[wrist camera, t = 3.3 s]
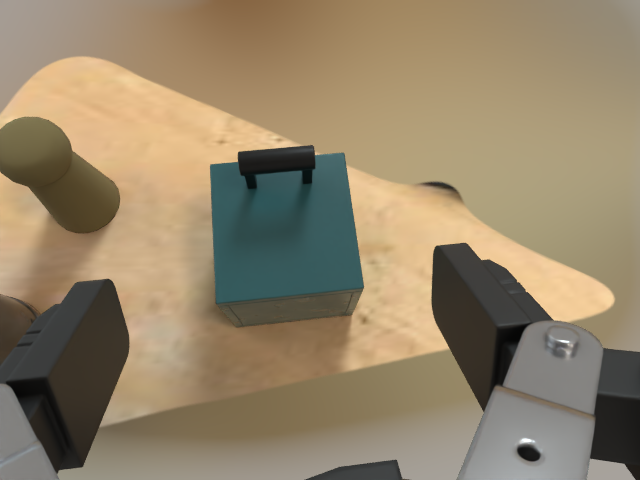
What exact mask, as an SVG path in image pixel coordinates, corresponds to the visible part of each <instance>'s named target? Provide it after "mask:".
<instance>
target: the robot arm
mask: <svg viewBox="0 0 640 480" xmlns="http://www.w3.org/2000/svg"><path fill="white" fill-rule="evenodd" d="M432 310H433V315H434V318H435V321H436V324H437V326H438V327H439V329H440V331H441V333H442V335H443V337H444V339H445V340H446V342H447V344H448V346H449V348H450V350H451V352H452V354H453V355H454V357H455V359H456V361H457V363H458V365H459V366H460V369H461V370H462V372H463V374H464V376H465V378H466V380H467V382H468V383H469V385H470V387H471V389H472V391H473V393H474V394H475V397H476V398H477V400H478V402H479V404H480V406H481V408H482V410H483V412H484V414H483V416H482V418H481V421H480V423H479V426H478V428H477V431H476V433H475V436H474V438H473V440H472V443H471V445H470V448H469V450H468V453H467V455H466V458H465V460H464V463H463V465H462V467H461V470H460V472H459V475H458V477H457V480H587V474H588V468H589V461H590V459H597V460H603V461H610V462H617V463H623V464H625V465H626V467H627V468H628V470H629V471H630V472H631V473H632V475H633V477H634V478H635V479H636V480H640V352H633V351H623V350H613V349H606V348H603V347H602V344H601V342H600V341H599V340H598V339H597V338H596V337H595V336H594V335H593V334H592V333H590V332H589V331H587V330H586V329H583V328H581V327H579V326H577V325H574V324H571V323H567V322H562V321H554V320H553V319H552V318H551V317H550V316H549V315H548V314H547V313H546V311H545V310H544V309H543V308H542V307H541V306H540V305H539V304H538V303H537V302H536V301H535V299H534V298H533V297H532V296H531V295H530V294H529V293H528V292H526V291H525V289H524V287H523V286H522V285H521V284H520V283H519V282H518V283H517V280H516V279H515V278H514V277H513V276H512V274H511V273H510V272H509V271H508V270H507V269H506V268H504V267H502V266H500V265H498V264H496V263H495V262H493V261H491V260H481V259H480V258H479V257H478V256H477V255H476V253H475V252H474V251H473V250H472V249H471V248H470V246H469V245H468V244H467V243H459V244H449V245H440V246H436V247H435V249H434V253H433V274H432ZM128 353H129V334H128V329H127V326H126V323H125V319H124V316H123V312H122V309H121V305H120V302H119V298H118V295H117V292H116V288H115V286H114V283H113V282H112V281H111V280H110V279H103V280H93V281H83V282H77V283H75V284H74V285H73V287H72V288H71V290H70V291H69V292H68V294H67V295H66V297H65V298H64V300H63V301H62V302H61V304H55V305H54V306H52V307H51V308H49V309H48V310H47V311H45V312H44V313H43V314H41V315H40V313H39V312H38V311H37V310H36V309H35V308H33V307H32V306H31V305H29V304H27V303H25V302H23V301H21V300H18V299H15V298H12V297H8V296H4V295H1V294H0V480H59V478H58V476H57V473H58V471H59V470H63V469H71V468H79V467H83V465H84V462H85V460H86V457H87V455H88V452H89V450H90V448H91V445H92V442H93V440H94V438H95V435H96V433H97V430H98V428H99V426H100V423H101V421H102V418H103V416H104V413H105V411H106V408H107V406H108V404H109V401H110V399H111V396H112V394H113V391H114V389H115V386H116V384H117V382H118V379H119V377H120V374H121V372H122V369H123V367H124V364H125V362H126V359H127V357H128ZM306 480H407V479H402V477H401V473H400V469H399V466H398V462H397V460H391V461H382V462H375V463H367V464H360V465H352V466H344V467H338V468H335V469H333V470H330V471H328V472H325V473H322V474H319V475H317V476H314V477H311V478H309V479H306Z"/></svg>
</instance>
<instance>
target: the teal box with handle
mask: <svg viewBox="0 0 640 480" xmlns="http://www.w3.org/2000/svg"><path fill="white" fill-rule="evenodd" d="M210 178H211V201H212V225H213V249H214V272H215V296H216V304H217V305H218V306H224V305H234V304H243V303H252V302H262V301H271V300H281V299H290V298H299V297H309V296H318V295H328V294H337V293H347V292H356V291H363V289H364V284H363V277H362V270H361V263H360V256H359V250H358V243H357V236H356V229H355V222H354V216H353V209H352V202H351V195H350V188H349V182H348V175H347V168H346V161H345V155H344V153H334V154H323V155H315V151H314V146H313V145H310V146H299V147H287V148H276V149H265V150H253V151H242V152H238V162H233V163H222V164H211V165H210Z"/></svg>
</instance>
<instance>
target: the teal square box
mask: <svg viewBox="0 0 640 480" xmlns="http://www.w3.org/2000/svg"><path fill="white" fill-rule="evenodd" d="M361 294H362V291H356V292H347V293H337V294H328V295H318V296H309V297H299V298H290V299H281V300H271V301H262V302H252V303H243V304H234V305H224V306H218V307H219V308H220V309H221V310H222V311H223V312H224V314H225V315H226V316H227V317H228V318H229V319H230V321H231V322H232V323H233V324H234V325H235V326H236V327H245V326H255V325H264V324H273V323H282V322H291V321H300V320H310V319H319V318H328V317H337V316H346V315H352V314H353V312H354V309H355V307H356V305H357V303H358V300H359V298H360V296H361Z"/></svg>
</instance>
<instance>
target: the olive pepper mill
mask: <svg viewBox="0 0 640 480" xmlns="http://www.w3.org/2000/svg"><path fill="white" fill-rule="evenodd" d="M0 172H1V173H2V174H4V175H5V176H6V177H8V178H9V179H10V180H12V181H13V182H15V183H18V184H22V185H25V186H28V187H29V188H30V190H31V191H32V192H33V193H34V194H35V196H36V197H37V198H38V199H39V200H40V202H41V203H42V204H43V205H44V206H45V208H46V209H47V210H48V211H49V212H50V214H51V215H52V216H53V217H54V218H55V220H56V221H57V222H58V223H59V224H60V225H61V226H62V227H64V228H65V229H66V230H69V231H72V232H75V233H88V232H92V231H95V230H98V229H100V228H101V227H103V226H105V225H106V224H108V223H109V221H110V220H111V219H112V218H113V217H114V216H115V214H116V212H117V210H118V208H119V202H120V195H119V191H118V188H117V187H116V185H115V184H114V182H113V181H112V180H110V179H109V178H108V177H106V176H105V175H104V174H102V173H101V172H100V171H98V170H97V169H96V168H95V167H93V166H92V165H91V164H89V163H88V162H87V161H85V160H84V159H83V158H81V157H80V156H79V155H77V154H76V153H75V152H73V151H72V148H71V144H70V141H69V139H68V138H67V136H66V135H65V133H64V132H63V131H62V129H61V128H59V127H58V126H57V125H55V124H54V123H52V122H51V121H49V120H46V119H43V118H39V117H22V118H18V119H15V120H13V121H11V122H9V123H7V124H6V125H5V126H4V127H2V128H1V129H0Z"/></svg>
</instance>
